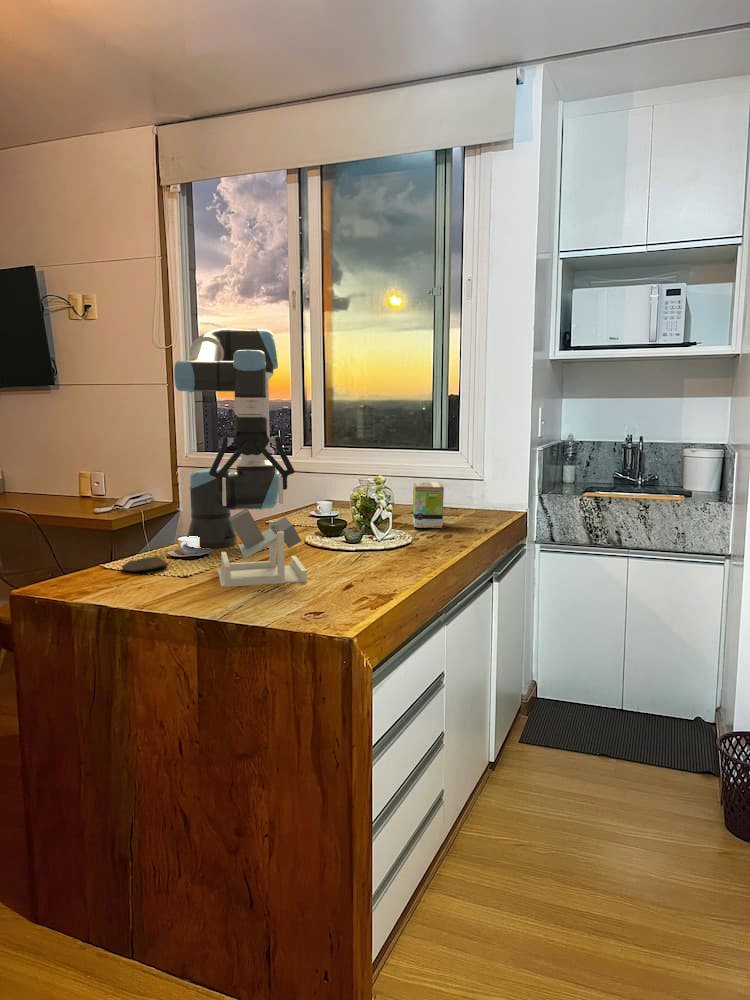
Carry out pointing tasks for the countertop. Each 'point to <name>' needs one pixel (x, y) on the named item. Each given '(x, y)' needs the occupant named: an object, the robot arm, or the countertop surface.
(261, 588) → the countertop surface
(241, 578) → the frame
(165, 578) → the countertop surface
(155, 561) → the rock
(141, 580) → the countertop surface
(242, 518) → the gray rectangular block
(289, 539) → the trapdoor
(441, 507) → the tea box
